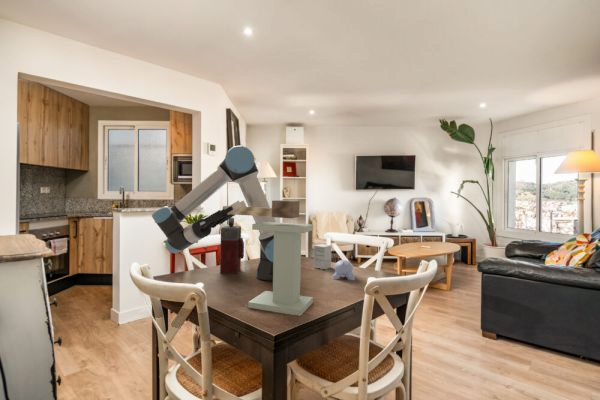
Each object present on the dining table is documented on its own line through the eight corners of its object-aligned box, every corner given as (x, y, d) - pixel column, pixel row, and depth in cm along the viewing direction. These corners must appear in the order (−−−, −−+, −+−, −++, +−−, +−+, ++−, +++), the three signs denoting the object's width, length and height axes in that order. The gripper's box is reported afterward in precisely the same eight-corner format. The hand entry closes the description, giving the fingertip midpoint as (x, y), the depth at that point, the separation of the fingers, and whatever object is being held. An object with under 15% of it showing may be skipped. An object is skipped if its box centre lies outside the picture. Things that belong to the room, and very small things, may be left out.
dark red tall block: (242, 273, 159) (243, 218, 159) (220, 273, 159) (220, 218, 158) (244, 269, 168) (245, 217, 168) (223, 269, 168) (224, 216, 167)
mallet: (219, 214, 121) (220, 198, 121) (229, 213, 128) (230, 198, 127) (292, 218, 111) (292, 201, 111) (299, 217, 117) (299, 200, 117)
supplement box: (320, 265, 181) (320, 243, 181) (331, 267, 177) (331, 245, 176) (313, 267, 175) (313, 245, 175) (324, 270, 171) (325, 246, 170)
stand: (248, 307, 114) (249, 224, 113) (265, 295, 127) (266, 221, 126) (300, 316, 107) (302, 227, 106) (312, 302, 120) (314, 224, 119)
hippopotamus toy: (354, 274, 164) (355, 255, 164) (355, 282, 149) (355, 262, 149) (333, 272, 165) (334, 254, 165) (332, 280, 151) (332, 260, 150)
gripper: (213, 236, 136) (256, 211, 129) (188, 241, 121) (235, 213, 114) (206, 220, 137) (248, 195, 130) (180, 224, 122) (226, 195, 115)
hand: (242, 203), depth 122 cm, fingers closed on mallet, 3 cm apart
